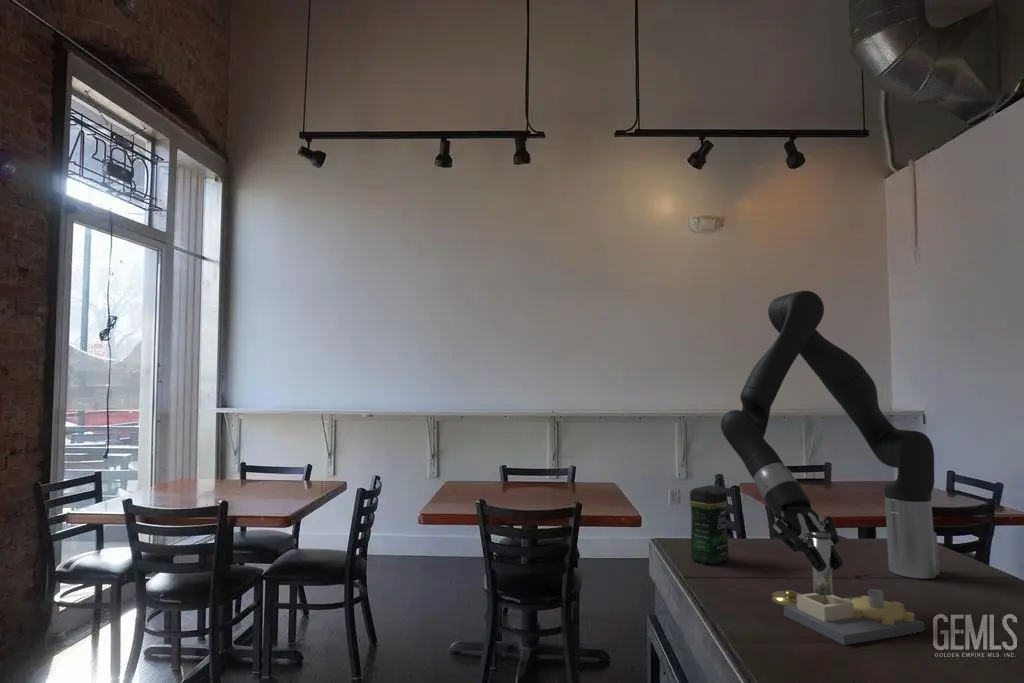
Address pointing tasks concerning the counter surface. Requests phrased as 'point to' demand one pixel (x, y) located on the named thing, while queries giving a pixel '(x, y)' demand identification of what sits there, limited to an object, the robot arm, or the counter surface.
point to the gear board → (853, 617)
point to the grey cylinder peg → (823, 546)
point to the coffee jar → (709, 525)
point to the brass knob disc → (785, 597)
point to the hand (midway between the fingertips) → (830, 568)
